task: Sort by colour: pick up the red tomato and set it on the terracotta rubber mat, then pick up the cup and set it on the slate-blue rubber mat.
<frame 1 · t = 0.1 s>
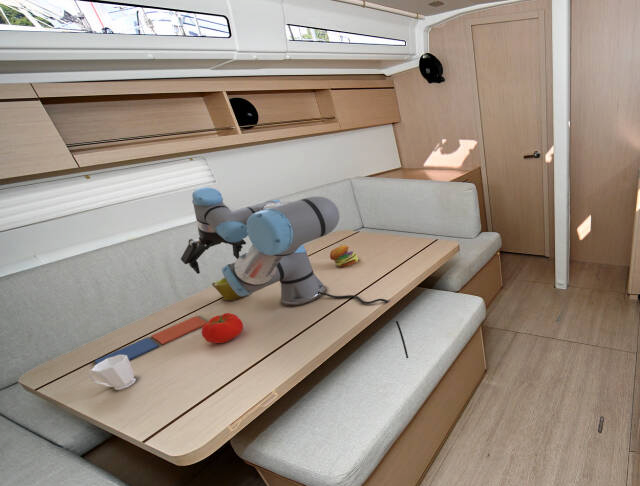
hand: (217, 263, 137), 15 cm above the table, tool tilted 35°, fingers open, 13 cm apart
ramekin: (286, 268, 167), on the table
mug: (233, 296, 145), on the table
red mat: (180, 330, 124), on the table
tomato: (228, 337, 118), on the table
cup: (120, 385, 100), on the table
cheeseburger: (346, 263, 166), on the table
blue mat: (127, 354, 113), on the table
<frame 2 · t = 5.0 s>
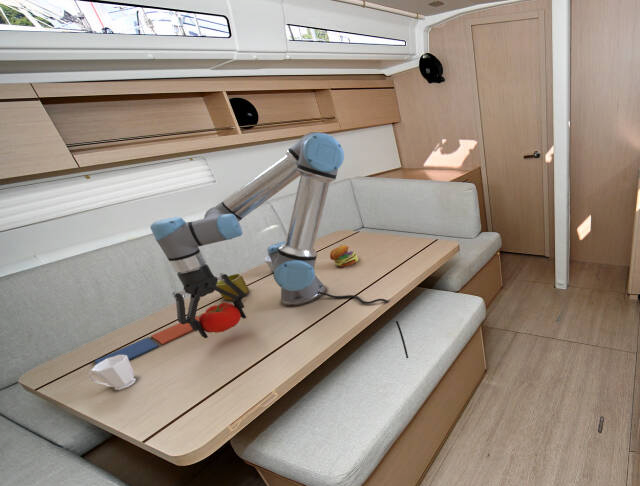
hand: (224, 326, 116), 4 cm above the table, tool pointing down, fingers closed on tomato, 11 cm apart
tomato: (226, 327, 117), point 4 cm above the table, touching gripper
everything else where it was.
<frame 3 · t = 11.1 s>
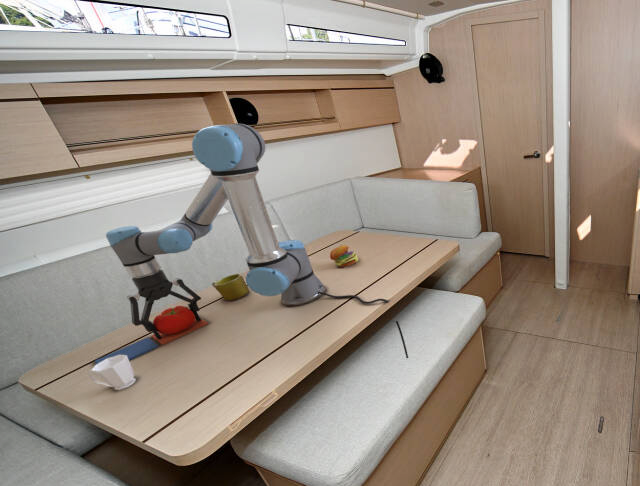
hand: (179, 328, 124), 1 cm above the table, tool pointing down, fingers closed on tomato, 11 cm apart
tomato: (180, 329, 124), resting on red mat, touching gripper
everything else where it was.
when the fingers open (1 cm above the table, at t = 32.8 s): tomato stays where it is, resting on red mat.
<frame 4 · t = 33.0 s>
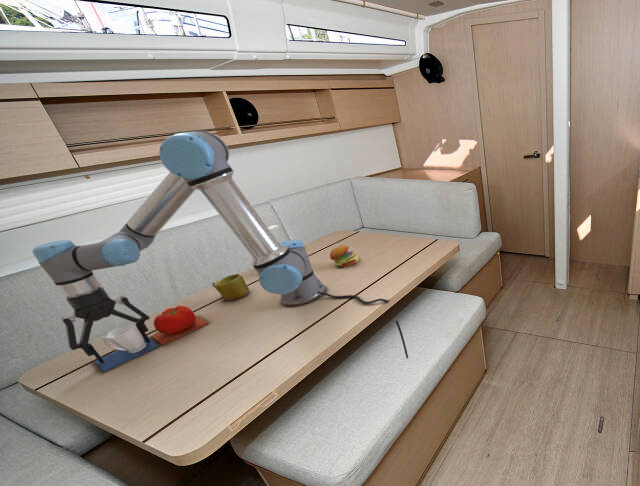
hand: (125, 350, 113), 1 cm above the table, tool pointing down, fingers open, 10 cm apart
tomato: (181, 329, 124), resting on red mat
cup: (133, 349, 114), point 1 cm above the table, touching blue mat
everything else where it was.
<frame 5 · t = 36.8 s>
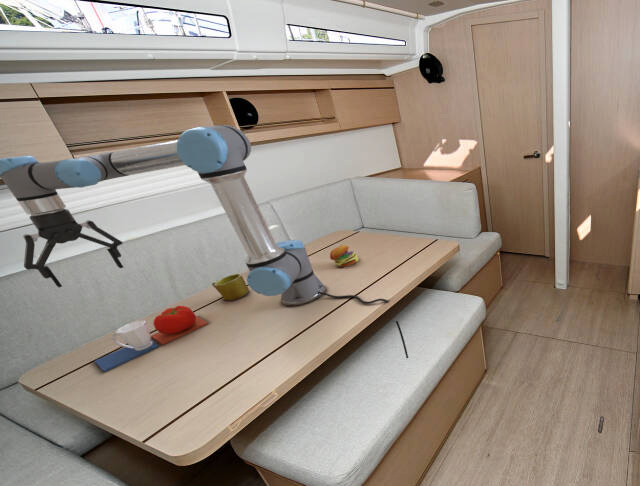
hand: (91, 276, 111), 25 cm above the table, tool pointing down, fingers open, 13 cm apart
cup: (139, 347, 116), resting on blue mat
everything else where it was.
at the end: tomato inside the target area on the red mat (0.3 cm from its centre), point 0.4 cm above the red mat's base; cup inside the target area on the blue mat (3.1 cm from its centre), point 0.4 cm above the blue mat's base; cup tilted 0° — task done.
